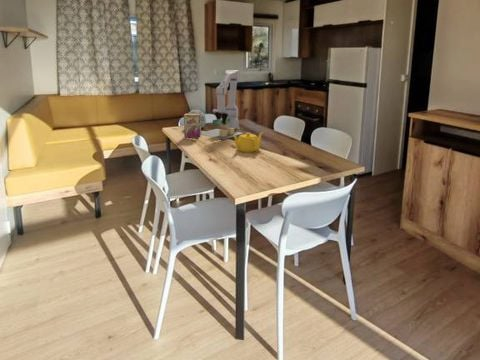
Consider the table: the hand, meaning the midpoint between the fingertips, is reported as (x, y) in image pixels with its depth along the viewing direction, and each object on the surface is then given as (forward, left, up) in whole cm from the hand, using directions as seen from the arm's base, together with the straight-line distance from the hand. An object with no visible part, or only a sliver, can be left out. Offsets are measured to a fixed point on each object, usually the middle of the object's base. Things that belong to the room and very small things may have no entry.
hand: (221, 123), depth 278 cm
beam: (0, 0, -1) cm, 1 cm away
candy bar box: (+18, -11, -9) cm, 23 cm away
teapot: (+22, +41, -9) cm, 47 cm away
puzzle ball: (-4, -29, -9) cm, 31 cm away
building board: (0, -2, -9) cm, 9 cm away
